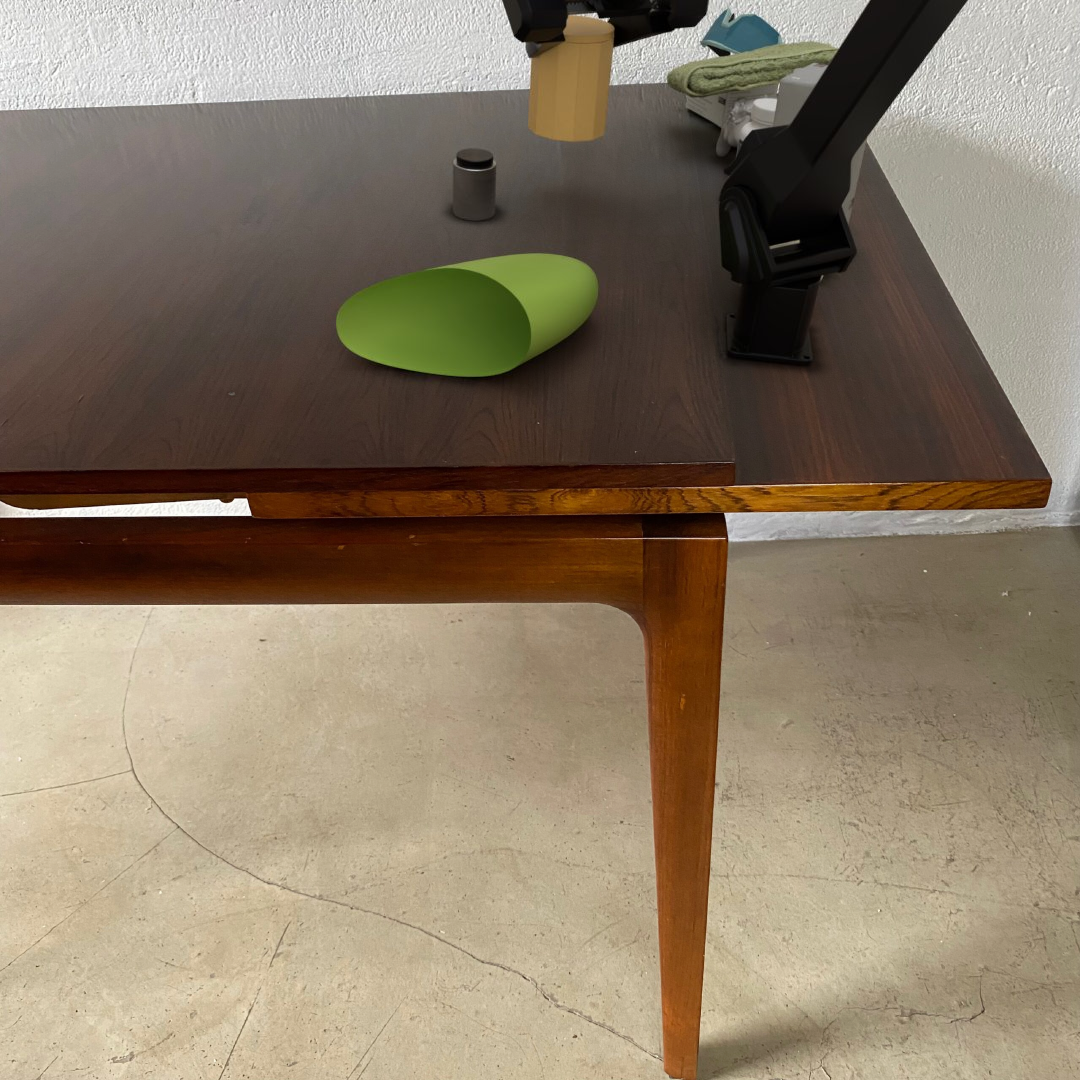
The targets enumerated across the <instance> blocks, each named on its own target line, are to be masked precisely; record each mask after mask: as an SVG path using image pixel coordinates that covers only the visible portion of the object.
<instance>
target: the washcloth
mask: <svg viewBox="0 0 1080 1080" xmlns="http://www.w3.org/2000/svg"><path fill="white" fill-rule="evenodd" d="M838 49H839V47H835V46H832V44H831V43H829V42H826V43H822V42H820V41H814V40H810V41H805V40H804V41H800V42H791V43H783V44H779V45H772V46H767V47H764V48H759V49H756V50H753V51H748V52H747V51H746V52H743V53H740V54H731V55H729V56H724V57H719V56H715V57H710V58H704V59H701V60H700V59H699V60H693V61H688V62H687V63H684V64H681V65H680V66H677V67H675V68H673V69H671V70H670V72H669V73H668V74H667V75H666V81H667V84H668V85H669V88H671V89H673V90H676V91H677V92H678V93H681V94H683V95H685V96H686V97H687V96H690V97H693V98H697V97H700V98H703V97H707V96H712V95H719V94H723V93H728V92H731V91H745V90H747V89H749V88H755V87H760V86H763V85H772V84H775V83H779V84H780V80H781V79H782V78H784V77H786V76H788V75H790V74H792V73H794V69H797V68H804V67H806V66H808V65H810V64H812V63H819V64H825V65H828V64H829V63H830V61H831V60H832V58H833V57H834V55H835V54H836V52H837V50H838Z"/></svg>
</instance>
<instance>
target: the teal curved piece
mask: <svg viewBox="0 0 1080 1080" xmlns="http://www.w3.org/2000/svg"><path fill="white" fill-rule="evenodd" d="M699 43H700V45H701V47H702V48H706V47H707V48H708V49H710V50H711V51H712V52H713V53H714V54H716V55H717V57H724V56H729V55H732V54H733V55H735V54H740V53H743V52H746V51H747V52H748V51H753V50H756V49H759V48H764V47H767V46H772V45H779V44H784V41H783V38H782V34H781V33H779V32H778V31H777V30H776V29H775V28H774V27H773V26H772V25H770V24H769V22H767V21H766V20H765V19H763V18H762V17H760V16H759V15H757V14H755V13H741V14H739V15H738V16H736V15H735V12H733V13H732V9H731V8H730V7H727V8H726V9H725V10H723V11H722V12H721V13H720V15H718V17H717V18H715V20H714V22H713V23H712V25H711V26H710V27H709V29H708V30H707V32H706V34H705V35H704V36H703V38H702V40H700V41H699Z"/></svg>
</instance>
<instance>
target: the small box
mask: <svg viewBox="0 0 1080 1080" xmlns="http://www.w3.org/2000/svg"><path fill="white" fill-rule="evenodd" d="M779 85H780V83H775V84H772V85H763V86H760V87H755V88H749V89H747V90H745V91H731V92H728V93H723V94H719V95H712V96H707V97H703V98H700V97H697V98H693V97H690V96H686V99H685V109H687V110H690V111H692V112H694V113H696V114H698V115H699V116H701V117H702V118H704V119H706V120H708V121H710V122H712V123H713V124H715V125H716V126H718V127H719V128H722V126H723V125H724V124H725V123H726V122H727V120H728V117H729V116H731V115H730V113H729V112H730V111H731V112H732V110H733V108H732V105H733V102H734V101H735V100H737V99H738V98H742V97H745V98H746V99H747V100H748V101H749V100H753V99H757V98H758V96H761V97H763V96H764V95H767V96H768V97H773V96H778V91H779ZM686 101H687V102H686Z"/></svg>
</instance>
